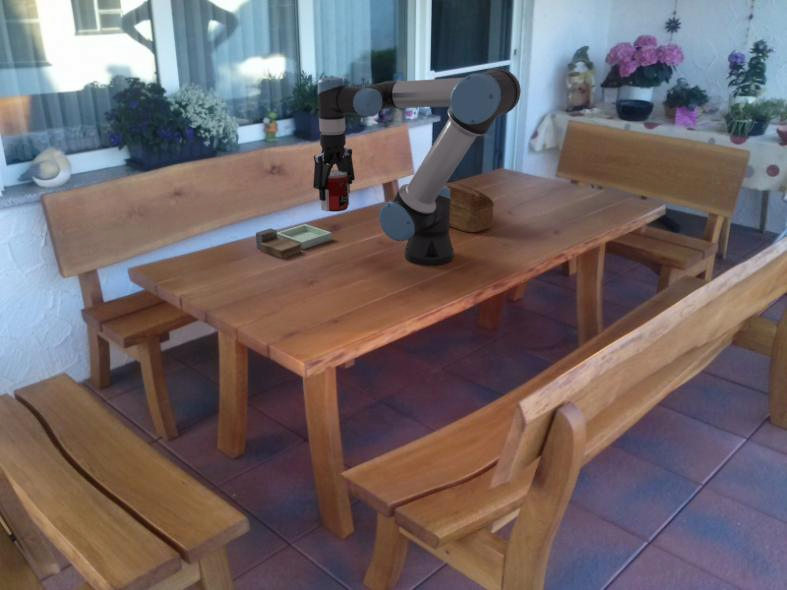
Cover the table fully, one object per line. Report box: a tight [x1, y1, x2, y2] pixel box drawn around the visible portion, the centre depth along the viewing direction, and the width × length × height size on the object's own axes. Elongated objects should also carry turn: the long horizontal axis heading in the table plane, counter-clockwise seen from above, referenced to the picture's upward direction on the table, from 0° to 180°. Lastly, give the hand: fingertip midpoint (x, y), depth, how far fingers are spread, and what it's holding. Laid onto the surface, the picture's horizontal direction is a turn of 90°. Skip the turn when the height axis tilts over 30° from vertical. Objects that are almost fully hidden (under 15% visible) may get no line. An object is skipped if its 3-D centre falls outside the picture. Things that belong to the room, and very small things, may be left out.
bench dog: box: [255, 228, 278, 250], centre depth 239 cm, size 3×6×5 cm, turn 138°
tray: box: [277, 223, 333, 251], centre depth 245 cm, size 13×13×2 cm
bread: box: [445, 181, 495, 233], centre depth 261 cm, size 12×31×14 cm, turn 44°
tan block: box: [259, 237, 302, 259], centre depth 236 cm, size 10×8×3 cm
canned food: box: [322, 169, 349, 213], centre depth 227 cm, size 8×8×11 cm
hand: (335, 207), depth 229 cm, fingers closed on canned food, 8 cm apart
